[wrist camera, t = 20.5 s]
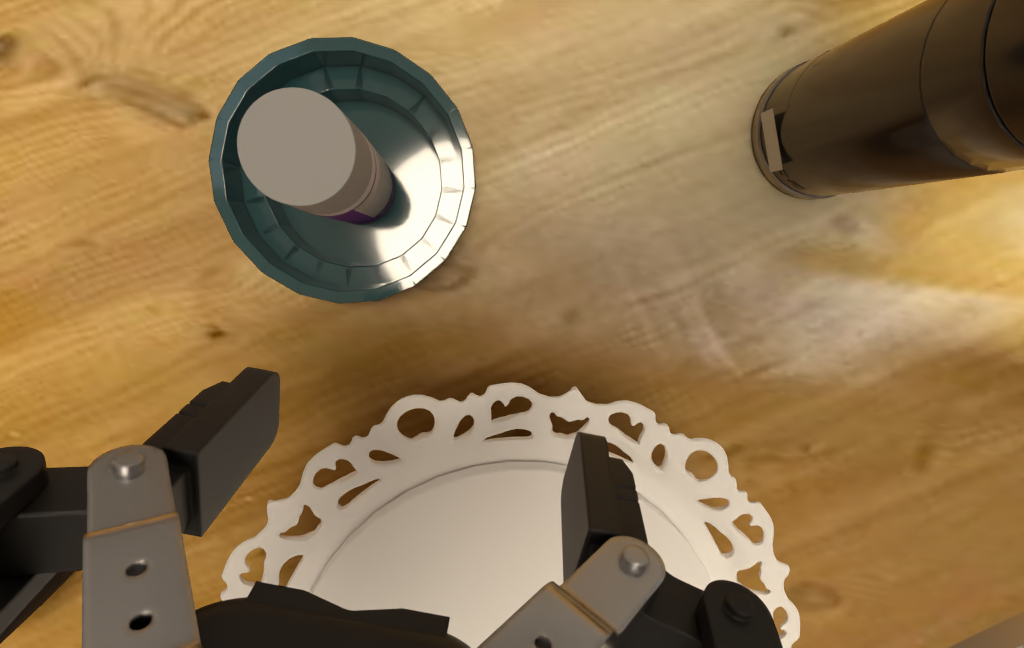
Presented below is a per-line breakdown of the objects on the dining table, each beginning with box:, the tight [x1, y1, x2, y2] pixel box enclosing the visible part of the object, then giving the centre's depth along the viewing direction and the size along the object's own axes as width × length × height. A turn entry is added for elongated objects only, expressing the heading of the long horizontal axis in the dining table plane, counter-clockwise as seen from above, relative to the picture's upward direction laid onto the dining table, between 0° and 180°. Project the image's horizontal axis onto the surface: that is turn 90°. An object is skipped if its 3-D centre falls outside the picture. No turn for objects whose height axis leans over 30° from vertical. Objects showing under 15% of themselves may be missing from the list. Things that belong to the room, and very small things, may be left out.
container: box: [237, 87, 396, 224], centre depth 29 cm, size 5×5×15 cm
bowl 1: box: [209, 37, 476, 304], centre depth 34 cm, size 14×14×6 cm
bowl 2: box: [220, 382, 800, 648], centre depth 35 cm, size 32×32×13 cm
